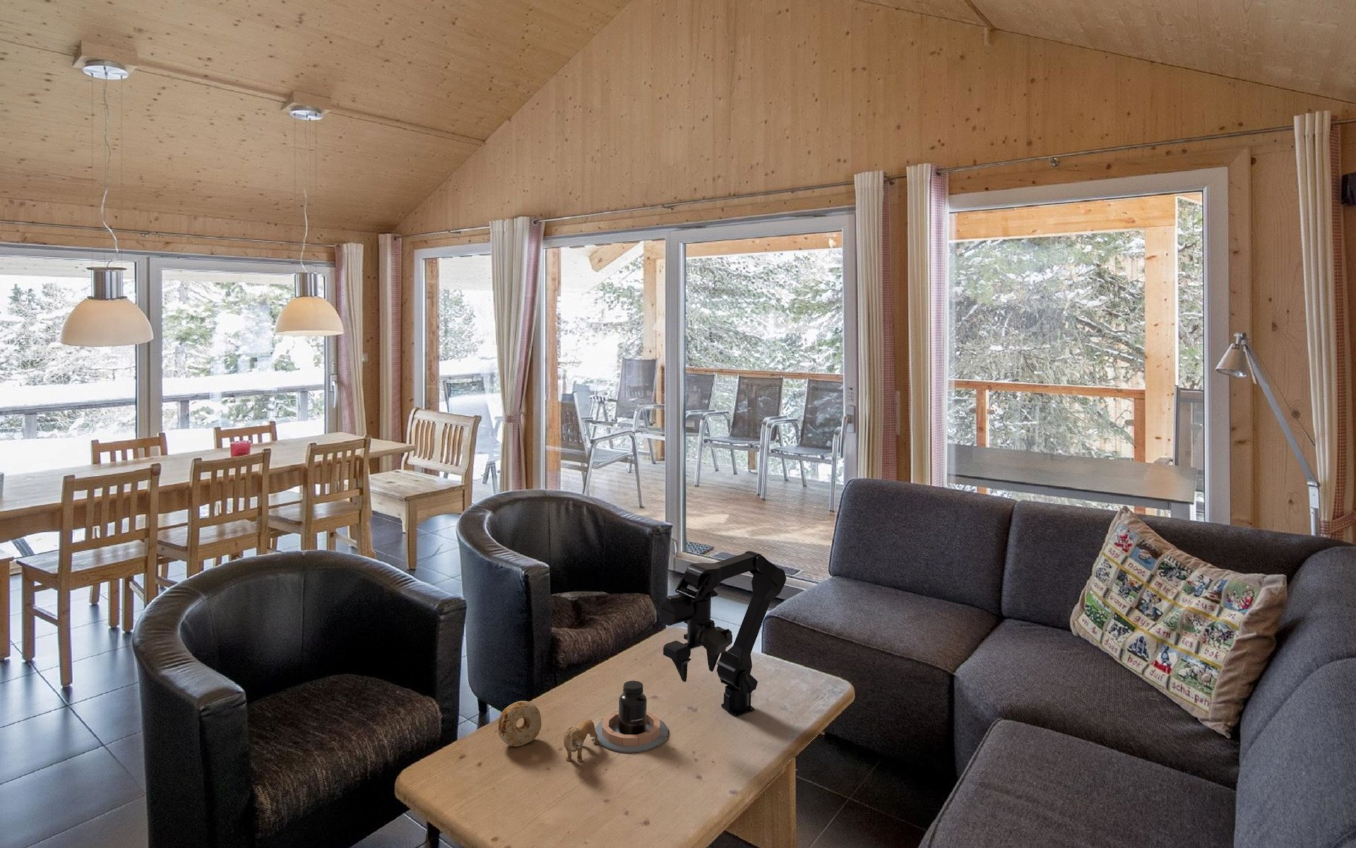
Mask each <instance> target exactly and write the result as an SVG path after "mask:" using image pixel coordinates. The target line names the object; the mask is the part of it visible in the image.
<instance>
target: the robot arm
mask: <svg viewBox="0 0 1356 848" xmlns="http://www.w3.org/2000/svg"><path fill="white" fill-rule="evenodd" d="M745 573H750V574H751V575H752V578H751V589H752V596H751V598H750V601H749V603H748V606H747V608H746V611H745V613H744V617H743V619H742V621H741V624H740V626H739V629H738V632H737V635H736V637H735V640H734V642H733V638H734V637H733V632H732V630H730V629H729V628H724V627H720V626H716V623H715V620H713V619H711V618H712V599H713V598H715V597H718V596H719V593H718V592H717V591H715V589H716V588H718V587H719V585H721V582H723V581H725V580H728V579H730V578H731V579H732V578H734V577H736V576H740V575H742V574H745ZM786 581H787V576H786V572H785V570H784V569H783V568H780V567H778V566H776V565H775V564H774V563H772V562H771V561H769V560H768V559H767V558H766V557H765V556H763V554H761V553H758V552H755V551H752V550H747V551H745V552H744V553H741V554H739V555H738V554H737V555H736V556H733V557H728V558H726V559H723V560H720V561H716V562H695V563H691V564H689V565H688V566H687V568H686V569H685V570H684V573H683V575H682V577H681V578H680V580H679V582H678V583H677V586H676V588H675V591H674V592H675V593H677V594H674V595H668V596H667V595H666V596H665V601H663V602H662V603H661V605H660V608H659V616H660V618H661V621H662V622H663V623H664V625H665V626H669V627H670V626H674V625H677V624H681V623H683V624H686V625H687V627H686V628H687V629H686V631H687V632H686V633H685V634H683V639H684V640H685V641H687V642H685V643H683V642H680V641H679V640H678V639H677V640H673V641H670V642H667V643H665V644H664V645H663V647H662V652H663V653H662V655H663V656H665V657H667V658H669V659H671V661H672V662H673V664H674V666H675V668H676V670H677V672H678V674H679V677H680V680H681V681H682V682H683V683H687V681H688V680H687V679H688V665H689V662H690V661H692V658H690V657H691V655H692V653H691V652H692V650H695V649H699V648H701V647H703V648H704V649H705V650H706V658H707V665H708V671H710V672H711V673H712V672H714V670H715V668H716V673H717V676H718V678H719V680H720V683H721V684H723V685H725V687H724V692H723V703H721V705H720V706H721V708H723V709H724V710H725V711H727V712H728V713H730V714H731V715H733V716H734V717H737V716H741V715H744V714H746V713H750V712H753V711H755V707H754V706H752V693H753V691H755V690H757V687H758V681H759V680H757V679H756V678H755V677H754V676H753V675H752V674H751V673H752V669H753V661H752V651H753V649H754V646H755V643H756V641H757V638H758V636H759V634H760V631H761V629H762V625H763V623H764V620H765V617H766V614H767V611H768V609H769V607H770V604H771V602H772V601H773V600H775V599H776V598H777V597H778V596H779V595H781V592H782V591H783V588H784V587H785V585H786V583H787V582H786ZM688 587H690V588H692V589H690V588H688ZM732 644H733V645H732ZM731 645H732V646H731ZM729 646H731V647H730V648H729V649H728V650H727V648H728V647H729ZM716 665H717V667H716Z"/></svg>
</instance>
